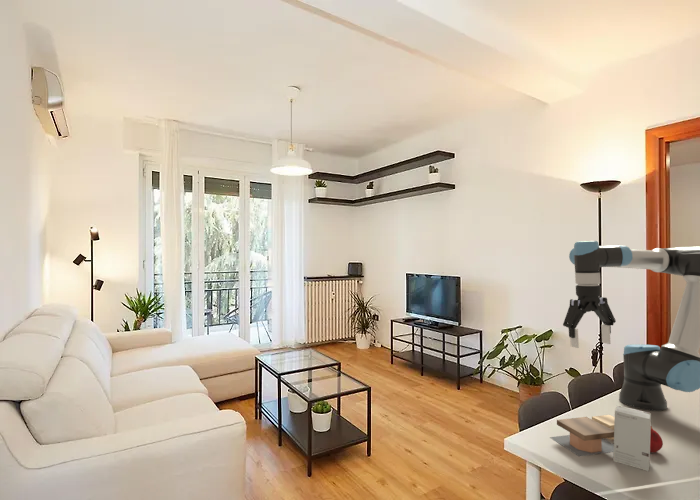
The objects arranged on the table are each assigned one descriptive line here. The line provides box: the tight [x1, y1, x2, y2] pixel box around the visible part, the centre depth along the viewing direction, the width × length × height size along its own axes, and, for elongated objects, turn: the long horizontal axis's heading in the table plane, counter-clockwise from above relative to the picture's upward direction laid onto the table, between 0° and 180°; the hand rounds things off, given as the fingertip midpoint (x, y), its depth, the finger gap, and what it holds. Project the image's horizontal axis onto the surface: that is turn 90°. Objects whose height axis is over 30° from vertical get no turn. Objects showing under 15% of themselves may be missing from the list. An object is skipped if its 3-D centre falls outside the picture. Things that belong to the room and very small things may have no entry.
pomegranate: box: [650, 425, 664, 454], centre depth 115 cm, size 6×6×8 cm
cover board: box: [556, 416, 614, 441], centre depth 119 cm, size 11×11×2 cm
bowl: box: [569, 432, 602, 453], centre depth 118 cm, size 8×8×4 cm
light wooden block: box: [591, 414, 615, 441], centre depth 126 cm, size 7×7×5 cm
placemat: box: [549, 434, 614, 457], centre depth 120 cm, size 16×12×1 cm
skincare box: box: [612, 405, 652, 472], centre depth 109 cm, size 8×6×15 cm
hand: (590, 345), depth 136 cm, fingers open, 13 cm apart
